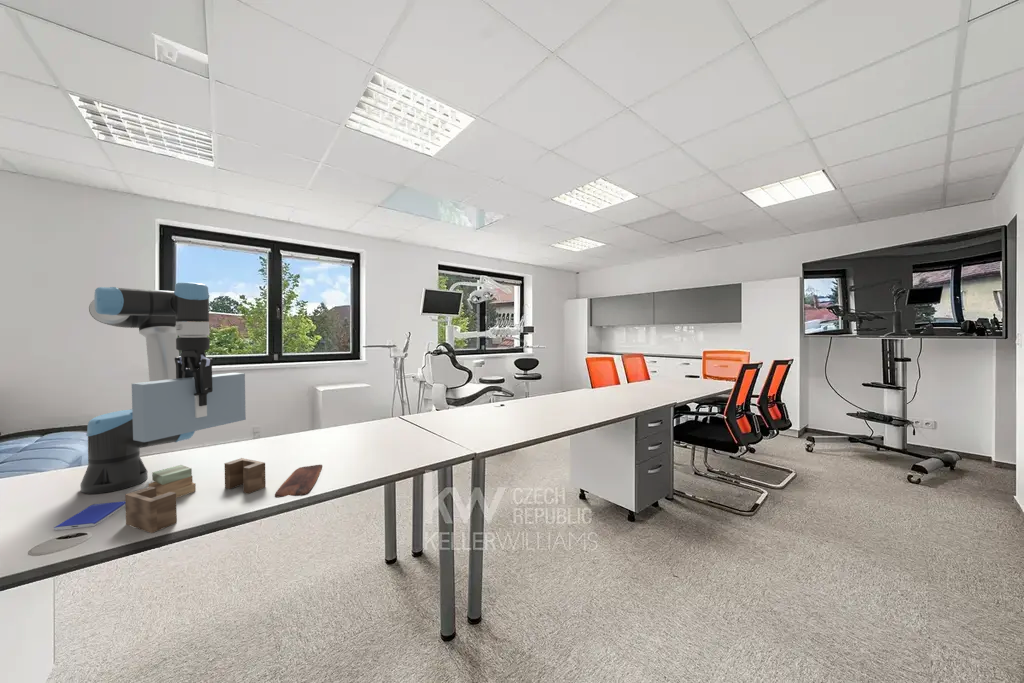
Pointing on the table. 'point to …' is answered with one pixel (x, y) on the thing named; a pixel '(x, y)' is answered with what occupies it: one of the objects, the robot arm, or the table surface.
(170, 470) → the offcut stack
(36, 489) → the table surface
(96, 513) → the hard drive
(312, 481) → the wooden tablet
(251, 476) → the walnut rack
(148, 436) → the slate panel
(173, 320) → the robot arm
